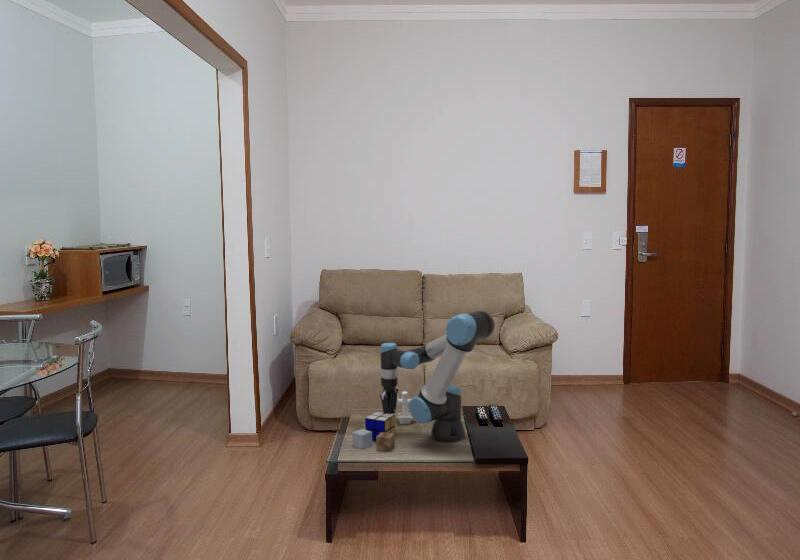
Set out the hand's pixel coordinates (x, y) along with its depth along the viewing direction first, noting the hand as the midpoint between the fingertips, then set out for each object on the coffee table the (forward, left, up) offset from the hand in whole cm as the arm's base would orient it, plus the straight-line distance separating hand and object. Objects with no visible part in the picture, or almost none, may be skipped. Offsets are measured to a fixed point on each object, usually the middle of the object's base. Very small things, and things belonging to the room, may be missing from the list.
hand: (390, 427), depth 265 cm
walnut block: (-8, +19, -2) cm, 21 cm away
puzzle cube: (0, +9, -2) cm, 9 cm away
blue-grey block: (+3, +20, -2) cm, 20 cm away
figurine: (0, -14, -2) cm, 15 cm away
